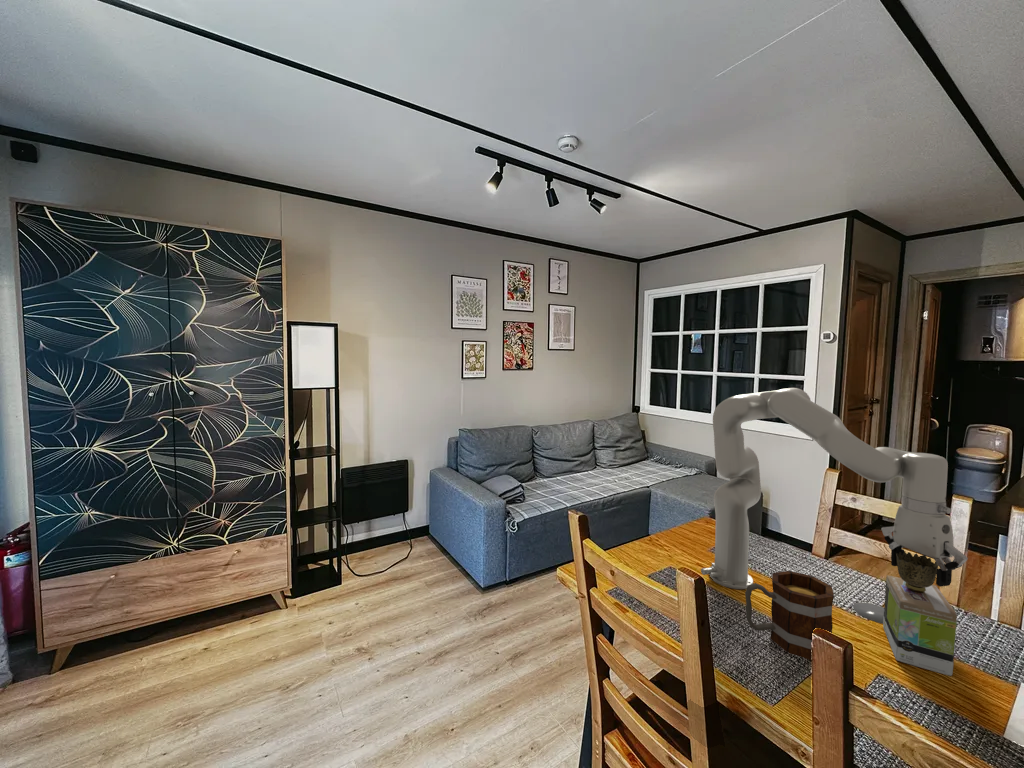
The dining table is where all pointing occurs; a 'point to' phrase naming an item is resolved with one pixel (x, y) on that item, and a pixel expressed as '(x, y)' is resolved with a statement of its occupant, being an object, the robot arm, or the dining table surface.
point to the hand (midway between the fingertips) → (919, 574)
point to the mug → (795, 610)
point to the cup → (916, 571)
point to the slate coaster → (870, 611)
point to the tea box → (920, 626)
